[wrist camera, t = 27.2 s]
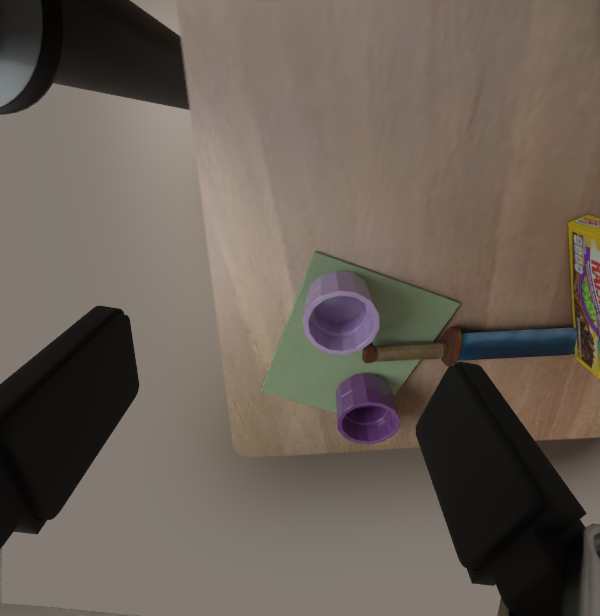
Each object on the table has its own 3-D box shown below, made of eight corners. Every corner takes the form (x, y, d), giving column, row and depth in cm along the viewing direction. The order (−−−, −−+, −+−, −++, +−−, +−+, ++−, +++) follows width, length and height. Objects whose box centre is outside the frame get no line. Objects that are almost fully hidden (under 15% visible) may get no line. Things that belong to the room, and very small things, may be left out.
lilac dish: (297, 315, 33) (293, 343, 29) (319, 259, 29) (319, 280, 25) (354, 334, 34) (360, 363, 29) (382, 280, 30) (393, 304, 26)
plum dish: (327, 402, 39) (328, 435, 35) (349, 363, 36) (353, 395, 31) (375, 416, 40) (382, 450, 36) (400, 379, 37) (411, 412, 32)
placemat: (261, 389, 39) (260, 391, 39) (315, 250, 29) (315, 252, 29) (373, 422, 41) (374, 424, 41) (459, 301, 31) (460, 303, 31)
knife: (616, 331, 29) (588, 365, 32) (591, 311, 32) (567, 345, 35) (367, 344, 30) (363, 377, 33) (361, 324, 32) (358, 356, 35)
